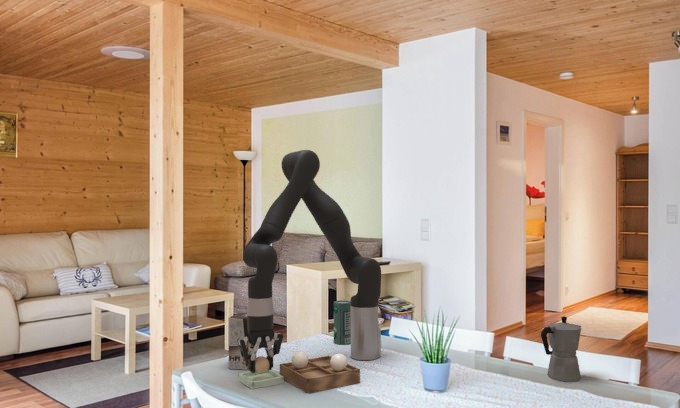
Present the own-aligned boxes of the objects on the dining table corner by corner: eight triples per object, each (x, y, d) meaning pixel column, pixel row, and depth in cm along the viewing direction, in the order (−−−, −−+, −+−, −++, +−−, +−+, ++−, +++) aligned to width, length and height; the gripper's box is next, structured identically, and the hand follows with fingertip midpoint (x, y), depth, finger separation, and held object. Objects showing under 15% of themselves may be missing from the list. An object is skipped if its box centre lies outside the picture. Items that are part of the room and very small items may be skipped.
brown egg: (265, 370, 177) (265, 353, 177) (272, 374, 173) (272, 357, 173) (249, 372, 174) (249, 355, 174) (256, 377, 170) (256, 359, 170)
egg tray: (329, 368, 186) (329, 355, 186) (359, 382, 172) (359, 369, 172) (279, 377, 177) (279, 364, 177) (307, 393, 163) (307, 379, 163)
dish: (269, 374, 180) (269, 368, 180) (283, 383, 172) (283, 376, 172) (238, 379, 175) (238, 373, 175) (251, 389, 167) (251, 382, 167)
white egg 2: (341, 367, 177) (341, 350, 177) (350, 371, 172) (350, 354, 172) (326, 370, 174) (326, 353, 174) (335, 374, 170) (335, 357, 170)
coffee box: (247, 370, 185) (247, 318, 184) (227, 369, 186) (227, 317, 186) (257, 362, 194) (256, 312, 193) (238, 361, 195) (238, 311, 195)
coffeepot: (567, 370, 183) (568, 311, 183) (592, 378, 175) (593, 317, 175) (529, 376, 177) (529, 316, 176) (553, 386, 168) (554, 322, 168)
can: (340, 339, 222) (340, 299, 222) (354, 342, 219) (353, 301, 218) (330, 343, 217) (330, 302, 217) (344, 345, 214) (344, 304, 214)
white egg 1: (303, 365, 179) (303, 348, 179) (311, 369, 175) (311, 352, 175) (288, 367, 177) (288, 350, 177) (296, 371, 172) (296, 354, 172)
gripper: (276, 307, 180) (277, 364, 180) (232, 313, 173) (232, 371, 173) (288, 312, 174) (288, 370, 174) (242, 317, 166) (242, 378, 166)
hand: (260, 370), depth 173 cm, fingers closed on brown egg, 4 cm apart
